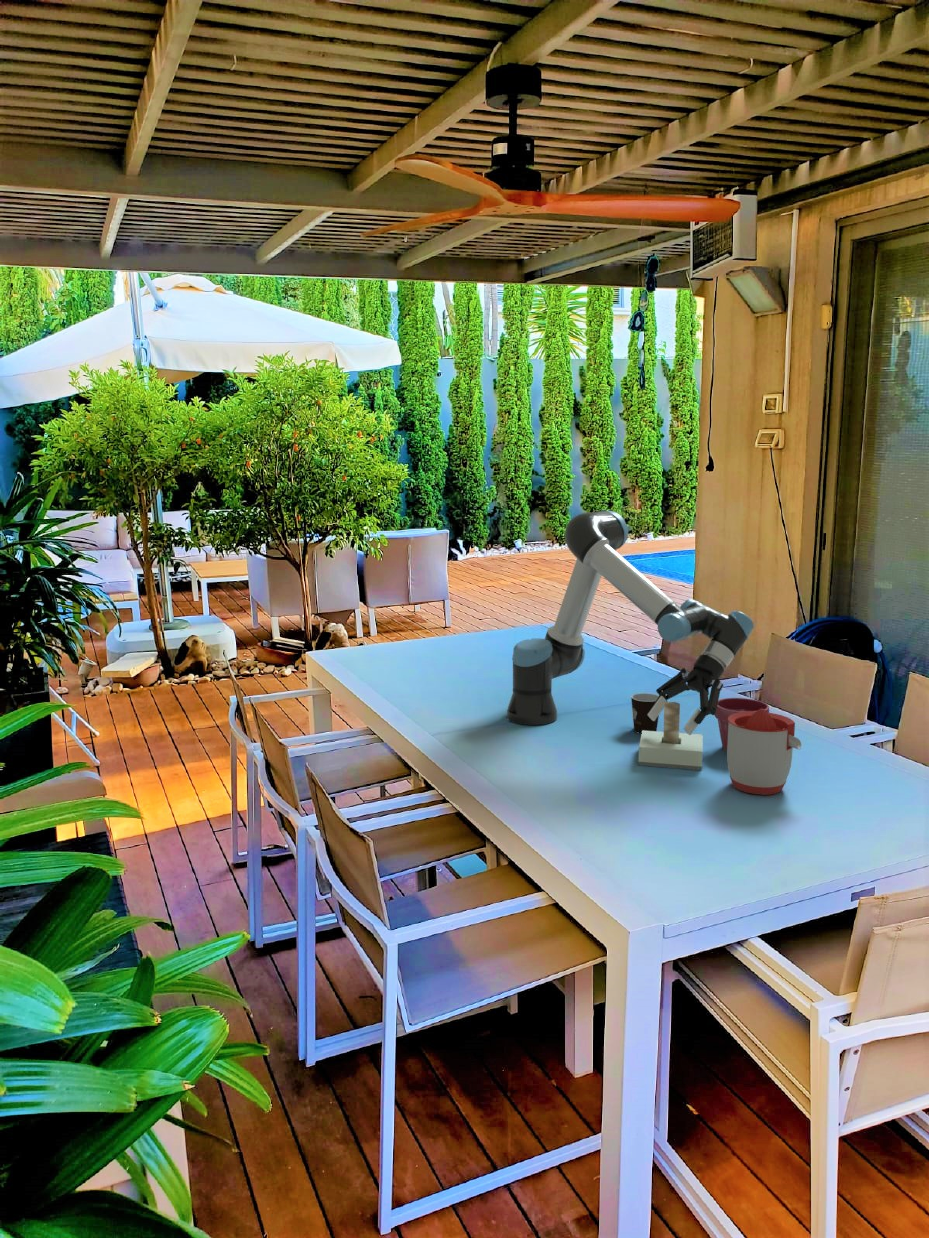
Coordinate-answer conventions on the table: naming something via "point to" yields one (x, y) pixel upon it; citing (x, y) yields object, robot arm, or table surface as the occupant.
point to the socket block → (671, 751)
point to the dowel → (671, 722)
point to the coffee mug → (643, 712)
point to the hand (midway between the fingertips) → (668, 724)
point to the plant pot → (731, 707)
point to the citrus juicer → (760, 751)
